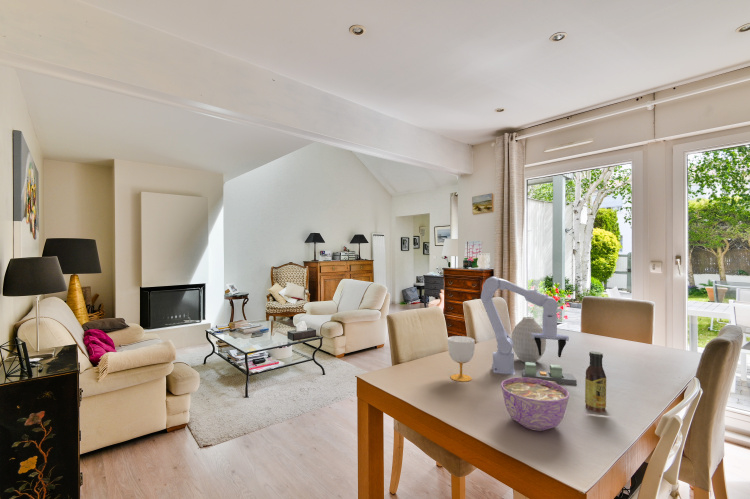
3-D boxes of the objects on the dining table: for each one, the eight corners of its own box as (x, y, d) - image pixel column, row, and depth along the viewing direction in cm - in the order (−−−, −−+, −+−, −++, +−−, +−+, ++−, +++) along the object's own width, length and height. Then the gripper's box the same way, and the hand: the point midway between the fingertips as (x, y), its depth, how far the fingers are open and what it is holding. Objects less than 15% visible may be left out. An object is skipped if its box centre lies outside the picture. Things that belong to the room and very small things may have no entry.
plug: (551, 381, 150) (551, 367, 150) (549, 378, 153) (549, 364, 154) (562, 382, 148) (562, 368, 148) (560, 379, 152) (560, 365, 152)
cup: (479, 377, 155) (479, 339, 155) (466, 385, 146) (466, 343, 147) (456, 371, 163) (456, 334, 163) (442, 378, 154) (442, 339, 155)
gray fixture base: (524, 381, 151) (524, 365, 151) (522, 374, 159) (522, 360, 159) (576, 386, 145) (576, 370, 145) (572, 379, 153) (571, 364, 153)
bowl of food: (494, 429, 110) (494, 391, 110) (507, 405, 127) (507, 373, 127) (567, 448, 99) (567, 406, 99) (571, 419, 116) (571, 384, 116)
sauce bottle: (599, 415, 119) (598, 356, 120) (581, 408, 125) (580, 351, 125) (610, 411, 122) (610, 353, 123) (592, 404, 128) (592, 349, 128)
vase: (548, 359, 181) (547, 316, 182) (543, 368, 168) (543, 321, 168) (514, 355, 190) (514, 313, 190) (508, 362, 176) (508, 318, 177)
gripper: (532, 325, 153) (532, 356, 153) (570, 327, 149) (570, 360, 149) (531, 322, 160) (530, 352, 160) (566, 324, 156) (566, 355, 155)
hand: (549, 355), depth 155 cm, fingers open, 7 cm apart
